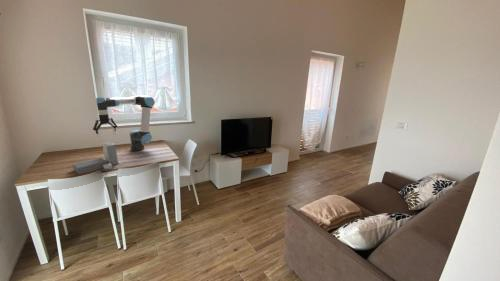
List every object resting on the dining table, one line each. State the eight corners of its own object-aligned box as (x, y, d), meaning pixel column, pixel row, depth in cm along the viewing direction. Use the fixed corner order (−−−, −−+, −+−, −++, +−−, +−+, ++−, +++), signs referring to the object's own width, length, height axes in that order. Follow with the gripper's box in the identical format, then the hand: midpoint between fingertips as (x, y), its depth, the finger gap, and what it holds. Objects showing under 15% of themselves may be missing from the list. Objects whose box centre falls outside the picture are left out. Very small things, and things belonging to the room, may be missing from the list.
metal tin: (110, 167, 201) (109, 162, 199) (113, 168, 197) (113, 164, 196) (102, 169, 195) (101, 164, 194) (105, 171, 192) (104, 166, 190)
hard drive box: (118, 163, 209) (115, 144, 203) (109, 165, 203) (106, 146, 197) (113, 159, 218) (110, 141, 213) (104, 161, 213) (101, 142, 207)
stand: (100, 162, 209) (99, 157, 207) (107, 166, 201) (106, 160, 200) (73, 170, 191) (72, 164, 190) (79, 174, 184) (78, 168, 182)
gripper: (115, 112, 208) (118, 132, 214) (86, 115, 189) (90, 137, 195) (119, 113, 204) (122, 133, 210) (89, 116, 185) (93, 139, 191)
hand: (106, 135), depth 202 cm, fingers open, 13 cm apart
